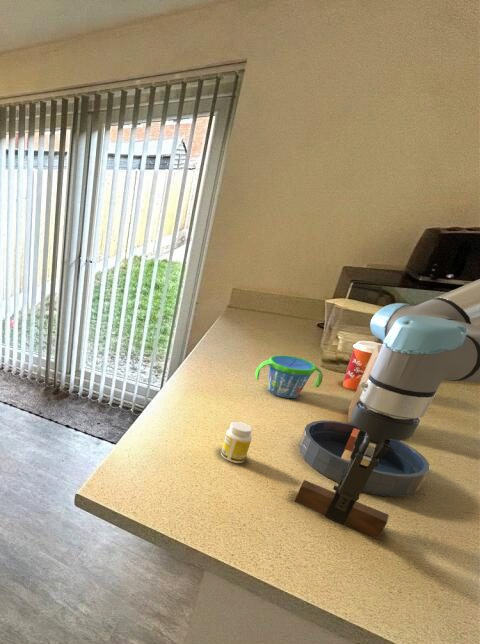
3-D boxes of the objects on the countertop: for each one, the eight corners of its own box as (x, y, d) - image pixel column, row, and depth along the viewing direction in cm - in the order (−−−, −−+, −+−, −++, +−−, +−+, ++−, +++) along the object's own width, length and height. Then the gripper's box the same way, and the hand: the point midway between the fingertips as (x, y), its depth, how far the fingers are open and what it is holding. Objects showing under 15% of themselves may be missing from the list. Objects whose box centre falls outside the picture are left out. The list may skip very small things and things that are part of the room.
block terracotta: (372, 452, 90) (380, 436, 88) (370, 461, 87) (378, 444, 85) (346, 443, 93) (353, 427, 91) (343, 451, 90) (350, 435, 89)
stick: (379, 531, 71) (388, 514, 69) (378, 538, 69) (387, 522, 68) (297, 495, 79) (303, 479, 77) (294, 501, 78) (300, 485, 76)
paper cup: (339, 388, 118) (357, 346, 113) (336, 379, 124) (352, 338, 119) (375, 396, 114) (395, 352, 109) (369, 385, 120) (388, 343, 114)
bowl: (419, 467, 86) (431, 447, 84) (414, 514, 74) (427, 491, 72) (307, 429, 99) (314, 411, 97) (288, 464, 88) (295, 444, 85)
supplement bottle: (248, 458, 90) (258, 427, 86) (239, 466, 87) (249, 435, 84) (225, 447, 93) (234, 418, 90) (216, 455, 91) (225, 425, 87)
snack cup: (253, 395, 116) (262, 364, 112) (248, 380, 124) (257, 351, 120) (320, 407, 109) (333, 374, 105) (310, 390, 118) (321, 360, 114)
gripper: (363, 385, 72) (318, 484, 81) (351, 416, 62) (301, 525, 72) (423, 401, 67) (368, 505, 76) (419, 437, 57) (356, 551, 67)
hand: (336, 514), depth 74 cm, fingers closed on stick, 2 cm apart
